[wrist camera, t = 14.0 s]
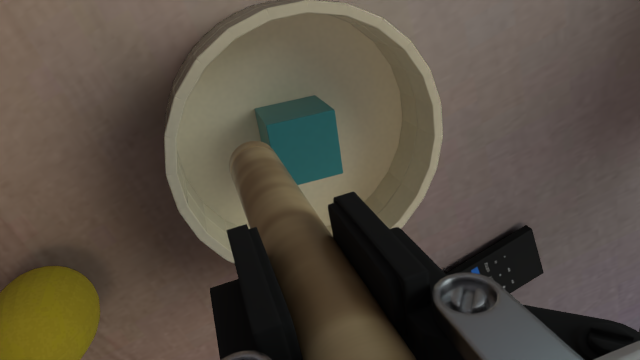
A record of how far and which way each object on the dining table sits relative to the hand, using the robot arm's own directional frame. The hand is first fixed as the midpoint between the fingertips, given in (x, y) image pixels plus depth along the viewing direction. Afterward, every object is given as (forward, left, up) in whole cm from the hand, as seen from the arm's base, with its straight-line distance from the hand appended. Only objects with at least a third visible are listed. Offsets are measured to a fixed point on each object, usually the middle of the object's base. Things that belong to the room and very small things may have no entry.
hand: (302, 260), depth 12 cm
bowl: (+4, -3, -19) cm, 19 cm away
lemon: (-13, -9, -19) cm, 24 cm away
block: (+3, -3, -18) cm, 19 cm away
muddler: (0, 0, -8) cm, 8 cm away
